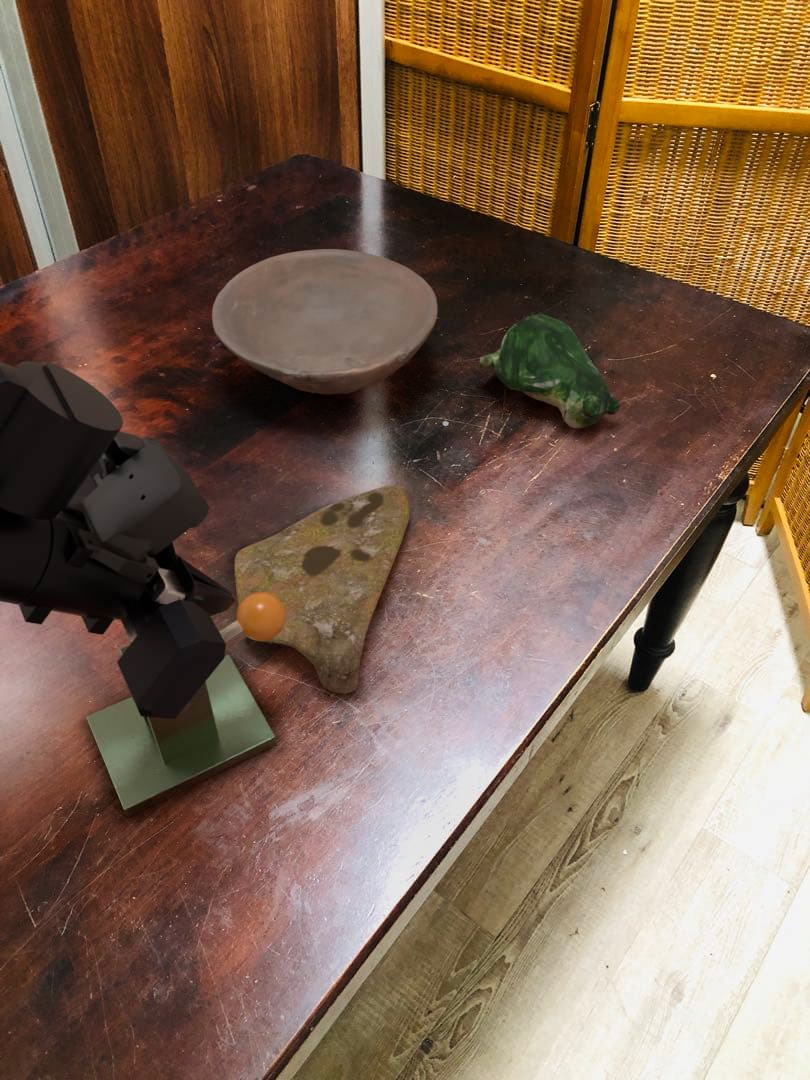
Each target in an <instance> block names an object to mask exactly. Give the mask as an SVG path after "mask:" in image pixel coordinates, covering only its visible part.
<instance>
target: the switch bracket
mask: <svg viewBox="0 0 810 1080" xmlns="http://www.w3.org/2000/svg"><path fill="white" fill-rule="evenodd" d="M128 647H129V645H127V646H124V647H122V648H120V649H118V650H119V653H120V657H121V656H122V654H123V653H124V652H125V651H126V649H127V648H128ZM85 717H86V721H87V723H88V725H89V728H90V730H91V732H92V735H93V738H94V740H95V743H96V746H97V748H98V751H99V753H100V755H101V757H102V760H103V761H104V762H103V763H104V764H105V767H106V770H107V772H108V775H109V777H110V779H111V782H112V784H113V787H114V789H115V792H116V794H117V796H118V799H119V801H120V803H121V806H122V810H123V811H124V813H125V816H126V818H129V817H131V816H133V815H135V814H137V813H139V812H141V811H143V810H146V809H148V808H149V807H151V806H154V805H156V804H158V803H160V802H162V801H164V800H166V799H168V798H171V797H172V796H174V795H177V794H178V793H180V792H183V791H184V790H187V789H189V788H190V787H192V786H195V785H196V784H199V783H201V782H203V781H205V780H207V779H209V778H211V777H213V776H215V775H217V774H219V773H221V772H223V771H226V770H227V769H229V768H232V767H234V766H236V765H238V764H239V763H242V762H244V761H246V760H248V759H250V758H253V757H254V756H257V755H258V754H260V753H262V752H264V751H266V750H268V749H270V748H272V747H274V746H277V738H276V735H275V733H274V731H273V729H272V728H271V726H270V724H269V722H268V721H267V719H266V717H265V715H264V713H263V711H262V710H261V707H260V706H259V705H258V703H257V701H256V699H255V698H254V696H253V694H252V692H251V690H250V688H249V687H248V684H247V683H246V681H245V680H244V678H243V676H242V674H241V673H240V671H239V668H238V667H237V666H236V664H235V662H234V660H233V658H232V656H231V655H230V654H225V657H224V659H223V660H222V662H221V663H220V664H219V665H218V667H217V668H216V669H215V670H214V672H213V673H212V674H211V675H210V676H209V678H208V679H207V680H206V681H205V683H204V684H203V685H202V686H201V688H200V689H199V690H198V691H197V693H196V694H195V695H194V696H193V698H192V699H191V700H190V701H189V702H188V704H187V705H186V706H185V707H184V709H183V710H182V711H181V712H180V714H179V715H178V716H177V717H176V719H166V718H154V717H143V716H140V714H139V711H138V709H137V707H136V705H135V703H134V700H133V698H132V696H130V697H128V698H126V699H123V700H121V701H119V702H117V703H114V704H111V705H109V706H106V707H105V708H102V709H100V710H98V711H96V712H93V713H91V714H89V715H87V716H85Z"/></svg>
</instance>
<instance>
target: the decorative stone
mask: <svg viewBox="0 0 810 1080" xmlns="http://www.w3.org/2000/svg"><path fill="white" fill-rule="evenodd" d="M410 512H411V511H410V504H409V498H408V496H407V493H406V492H405V491H404V489H403V488H402V487H401V486H399V485H396V484H395V485H394V484H393V485H385V486H381V487H378V488H374V489H371V490H368V491H365V492H362V493H359V494H356V495H354V496H351V497H348V498H347V497H346V498H345V499H342V500H339V501H336V502H333V503H330V504H328V505H326V506H324V507H322V508H320V509H318V510H316V511H314V512H312V513H310V514H308V515H306V516H305V517H303V518H302V519H300V520H298V521H296V522H295V523H293V524H291V525H289V526H288V527H286V528H284V529H283V530H281V531H279V532H277V533H276V534H272V536H269V537H267V538H265V539H262V540H260V541H258V542H255V543H253V544H249V545H247V546H245V547H243V548H241V549H240V550H238V552H237V553H236V555H235V557H234V564H233V565H234V579H235V588H236V597H237V598H236V599H237V605H238V607H239V605H240V603H241V602H242V601H243V600H244V599H245V598H246V597H247V596H249V595H250V594H253V593H256V592H267V593H271V594H273V595H275V596H276V597H277V598H278V599H279V600H280V601H281V602H282V603H283V605H284V608H285V611H286V621H285V625H284V627H283V629H282V630H281V632H280V633H279V634H278V635H277V636H275V637H274V638H272V639H270V640H266V641H260V642H261V643H267V644H268V643H269V644H277V645H283V646H288V647H291V648H292V649H295V650H296V651H297V652H299V653H300V654H301V655H303V657H304V658H306V659H307V660H308V661H309V663H311V664H312V665H313V666H314V667H315V669H316V672H317V675H318V678H319V681H320V683H321V684H322V686H323V687H324V688H325V689H326V690H328V691H330V692H332V693H337V694H348V693H351V692H353V691H355V690H356V689H357V687H358V686H359V672H360V667H361V661H362V660H361V656H362V654H363V651H364V644H365V639H366V635H367V632H368V629H369V626H370V623H371V620H372V618H373V615H374V612H375V610H376V607H377V605H378V601H379V599H380V597H381V594H382V591H383V589H384V586H385V584H386V582H387V579H388V578H389V574H390V572H391V569H392V567H393V564H394V562H395V559H396V557H397V555H398V552H399V549H400V546H401V543H402V541H403V538H404V536H405V534H406V530H407V528H408V525H409V521H410V514H411V513H410Z"/></svg>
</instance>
